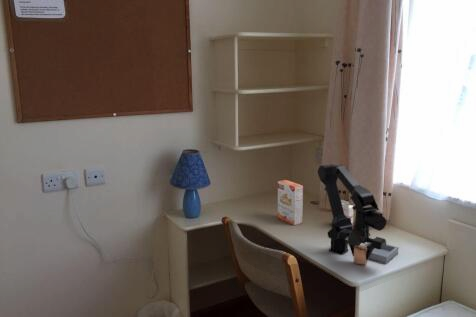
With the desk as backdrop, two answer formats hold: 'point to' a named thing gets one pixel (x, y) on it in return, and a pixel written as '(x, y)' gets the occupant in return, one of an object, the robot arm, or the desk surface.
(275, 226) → the desk surface
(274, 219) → the desk surface
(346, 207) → the ink cartridge box
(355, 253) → the terracotta cup
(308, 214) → the desk surface
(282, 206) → the cracker box
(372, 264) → the desk surface
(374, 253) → the tray
